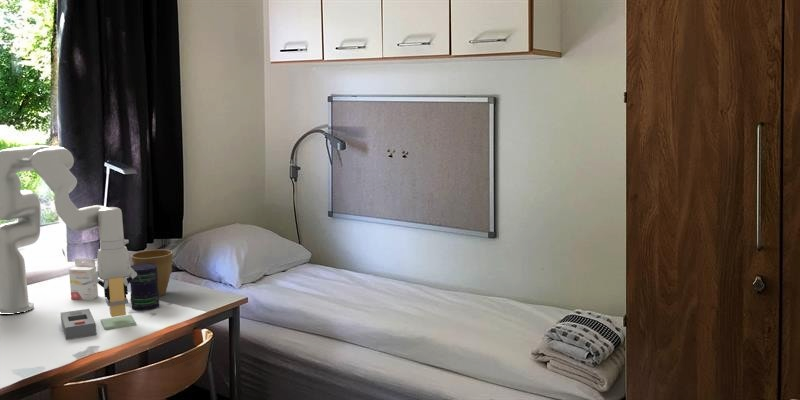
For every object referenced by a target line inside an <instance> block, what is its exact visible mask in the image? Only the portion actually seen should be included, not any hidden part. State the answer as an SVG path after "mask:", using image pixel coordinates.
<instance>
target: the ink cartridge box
mask: <svg viewBox="0 0 800 400" xmlns="http://www.w3.org/2000/svg"><path fill="white" fill-rule="evenodd" d="M74 264H75V266H73V267H70V268H69V270H68V272H69V273H68V274H69V286H70V298H71V300H88V301H89V300H94V299H95V298H97V297H98V296H99V289H98V283H96V282H94V281H92V278H93V276H94V275H95V273H96V272H97V266H96V259H95V258H74Z"/></svg>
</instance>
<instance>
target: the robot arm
mask: <svg viewBox="0 0 800 400" xmlns="http://www.w3.org/2000/svg"><path fill="white" fill-rule="evenodd" d="M74 163H75V161H74V156H73V153H72V152H71V151H70V150H68V149H67V148H65V147H62V146H49V145H37V144H36V145H27V146H18V147H11V148H5V149H2V150H0V221H9V222H5V223H2V224H0V312H1V313H17V312H24V311H27V312H29V311H28V310H30V311H32V310H33V309H34V308H35V307H34V303H33V302H29V292H28V281H27V280H28V279H27V273H26V271H27V270H26V262H25V259H24V256H23V255H22V254H21V252H20V250H19V249H21V248H23V247H26V246H30V245H33V244H35V243H36V242H37V241H38V240H39V239H40V234H41V202H40V198H39V197H38V195H37V193H35V192H34V191H32V190H30V189H24V190H22V189H21V188H22V182H21V179H20V176H19V175H18V173H23V172H30V171H35V172H36V174H37V175H38V176H39V177H40V178H41V180H42V181H43V182H44V183H45V184H46V185H47V187H48V188H49V189H50V190H51V191H52V192H53V194H54V200H53V201H54V207H55V211H56V213H57V215H58V217H59V218H60V219H61V221H62V222H63V223H64V224H65V225H66V226H67V227H68V228H69V229H70V230H72V231H74V232H77V233H83V232H86V231H90V230H93V229H97V228H98V237H99V245H100V246H99V248H98V249H97V259H96V261H97V263H96V265H97V266H96V273H95V275H94V276H93V278H92V281H94V282H96V283H97V285H99V286H100V287H101V288H103V289H104V291H103V292H104V297H105V298H106V299H108V300H110V293H109V288H108V282H109V281H108V279H112V278H120V277H123V284H124V297H125V298H127V295H128V294H129V290H128V285H130V282H131V280H132V279H133V278H135V277H136V276H137V273H136V272H135V271H134V270H133V269H132V268H131V267H130V266H131V262H130V260H131V259H130V257H129V252H128V251H129V250H128V249H127V246H126V245H127V244H129V243H130V242H129V239H125V237H124V223H123V212H122V209H121V208H119V207H116V206H109V207H108V206H104V205H100V204H96V205H95V204H94V205H90V206H84V207H81V208H78V207H77V206H76V205H75V204H74V202H72V200H71V198H70V195H69V194H70V193H72V191H73V190H74V189H75V188H76V187H77V184H78V179H77V177H76V176H75V175H74V174H73V173H72V172H71V169H72V168H73V166H74ZM15 219H17V220H15ZM11 220H12V221H11ZM13 220H15V221H13ZM31 309H32V310H31ZM24 313H25V312H24Z"/></svg>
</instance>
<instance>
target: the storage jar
mask: <svg viewBox="0 0 800 400" xmlns="http://www.w3.org/2000/svg"><path fill="white" fill-rule="evenodd" d="M130 267H131V268H132V269H133V270H134V271H135V272H136V273H137V276H136V277H135V278H133V279H132V280H131V282H130V283H129V285H130V303H131V310H133V311H136V312H137V311H138V312H147V311H151V310H155V309H158V308H159V307H160V306H161V305H160V296H159V291H158V285H157V281H158V272H157V265H156V264H152V263H143V264H136V265H133V264H132V265H130Z"/></svg>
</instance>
